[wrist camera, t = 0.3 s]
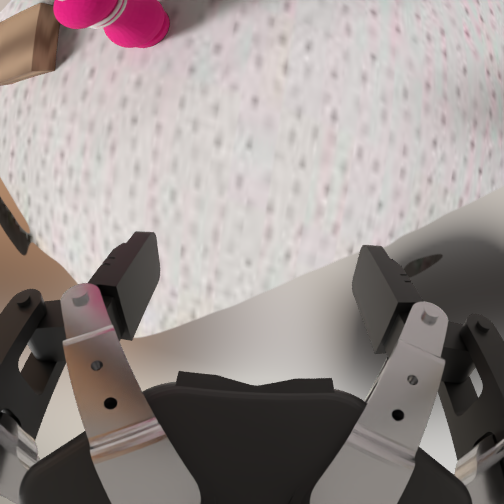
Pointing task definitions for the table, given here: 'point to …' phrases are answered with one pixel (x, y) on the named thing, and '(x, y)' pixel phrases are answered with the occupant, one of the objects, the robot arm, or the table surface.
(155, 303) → the table surface
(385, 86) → the table surface
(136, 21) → the pepper mill
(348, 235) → the table surface
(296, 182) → the table surface
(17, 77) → the walnut box
